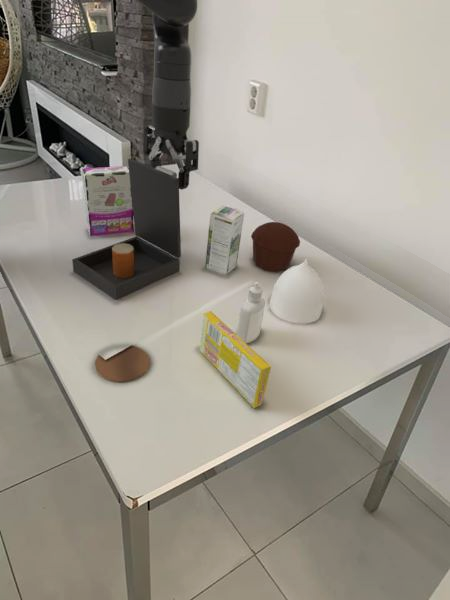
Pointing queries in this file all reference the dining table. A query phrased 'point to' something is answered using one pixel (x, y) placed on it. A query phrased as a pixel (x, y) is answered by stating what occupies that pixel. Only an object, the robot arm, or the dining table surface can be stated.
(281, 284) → the teardrop
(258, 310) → the eye dropper bottle
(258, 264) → the muffin
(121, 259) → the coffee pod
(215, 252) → the syrup box
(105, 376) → the coaster
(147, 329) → the dining table surface
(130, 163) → the box lid
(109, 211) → the candy bar box
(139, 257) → the open lid tray box
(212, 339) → the candy box
